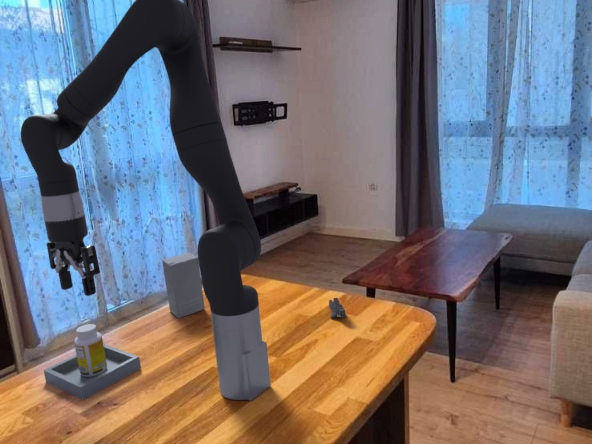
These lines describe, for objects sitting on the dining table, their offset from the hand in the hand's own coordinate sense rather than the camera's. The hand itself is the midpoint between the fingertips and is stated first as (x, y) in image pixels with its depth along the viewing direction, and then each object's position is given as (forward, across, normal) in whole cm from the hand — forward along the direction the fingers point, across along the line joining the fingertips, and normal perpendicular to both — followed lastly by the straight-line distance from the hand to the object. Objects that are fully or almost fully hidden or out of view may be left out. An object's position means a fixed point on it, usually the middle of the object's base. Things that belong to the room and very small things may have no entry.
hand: (78, 291), depth 106 cm
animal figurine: (+20, -31, -50) cm, 62 cm away
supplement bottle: (+19, 0, 0) cm, 19 cm away
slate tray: (+19, 0, 0) cm, 19 cm away
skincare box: (+20, +8, -34) cm, 40 cm away
